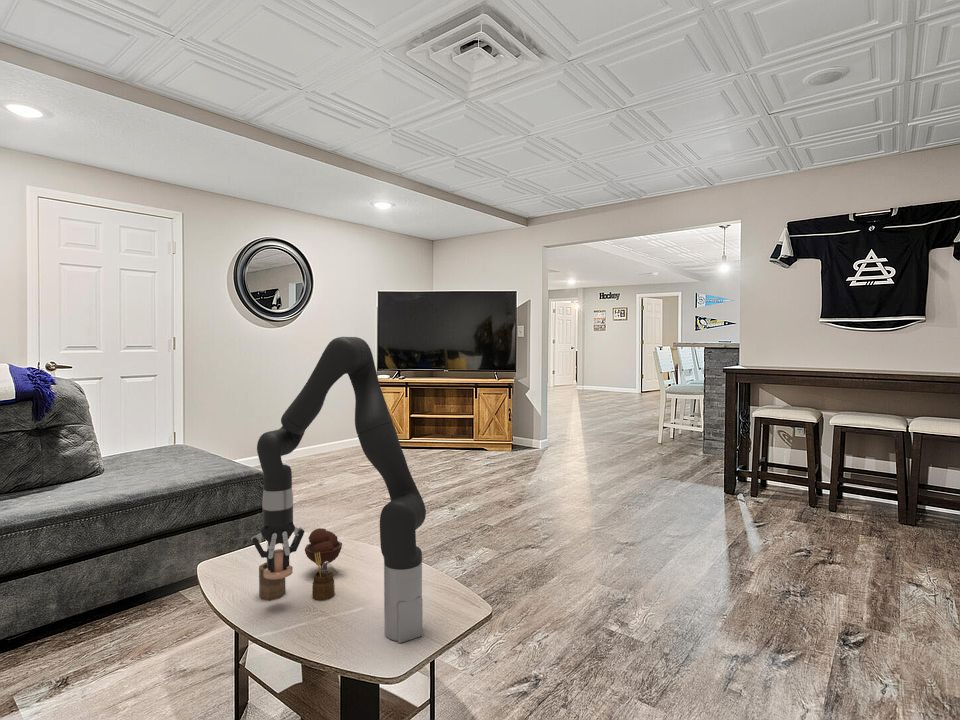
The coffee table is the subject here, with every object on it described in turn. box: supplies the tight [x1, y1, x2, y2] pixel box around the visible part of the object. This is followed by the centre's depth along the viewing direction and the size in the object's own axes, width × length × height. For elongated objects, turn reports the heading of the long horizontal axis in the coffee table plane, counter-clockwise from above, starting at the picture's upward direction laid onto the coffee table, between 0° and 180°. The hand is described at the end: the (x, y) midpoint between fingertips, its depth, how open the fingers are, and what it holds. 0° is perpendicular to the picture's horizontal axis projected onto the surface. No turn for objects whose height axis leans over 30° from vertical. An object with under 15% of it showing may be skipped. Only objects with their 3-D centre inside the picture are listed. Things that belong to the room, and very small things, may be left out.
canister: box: [258, 561, 286, 601], centre depth 150 cm, size 6×6×9 cm
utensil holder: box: [311, 552, 336, 602], centre depth 149 cm, size 6×6×12 cm
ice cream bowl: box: [304, 527, 343, 571], centre depth 163 cm, size 11×11×15 cm
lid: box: [264, 548, 294, 580], centre depth 142 cm, size 7×7×6 cm
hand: (278, 569), depth 142 cm, fingers closed on lid, 2 cm apart
